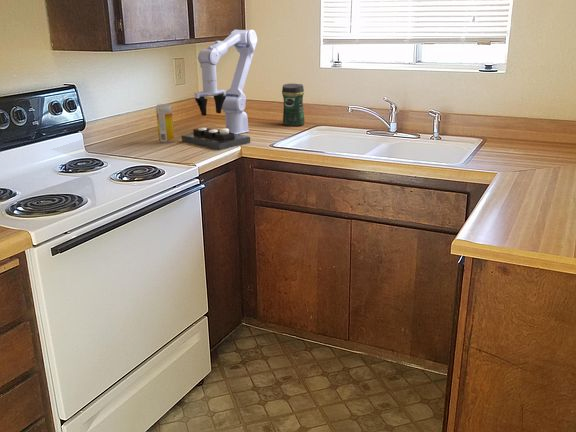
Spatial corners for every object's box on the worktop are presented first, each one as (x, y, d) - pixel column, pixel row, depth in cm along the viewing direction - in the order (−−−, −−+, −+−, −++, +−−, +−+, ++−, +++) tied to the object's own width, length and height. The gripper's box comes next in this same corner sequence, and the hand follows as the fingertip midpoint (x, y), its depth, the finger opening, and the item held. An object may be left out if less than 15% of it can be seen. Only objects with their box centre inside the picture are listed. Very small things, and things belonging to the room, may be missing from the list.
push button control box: (208, 134, 252) (208, 123, 250) (250, 142, 234) (249, 131, 233) (178, 140, 241) (177, 129, 240) (219, 150, 224) (218, 138, 222)
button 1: (203, 131, 242) (203, 127, 242) (208, 133, 240) (208, 128, 239) (196, 133, 240) (196, 128, 239) (201, 134, 237) (201, 129, 237)
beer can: (176, 139, 243) (172, 103, 237) (171, 143, 237) (168, 106, 232) (161, 139, 243) (158, 103, 238) (157, 143, 238) (153, 106, 232)
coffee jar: (306, 123, 269) (306, 83, 263) (299, 127, 262) (298, 85, 256) (288, 122, 273) (287, 82, 267) (280, 125, 267) (279, 84, 260)
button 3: (225, 132, 233) (224, 128, 232) (230, 134, 230) (230, 129, 230) (218, 134, 230) (217, 129, 229) (223, 135, 228) (223, 130, 227)
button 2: (214, 133, 238) (213, 129, 237) (219, 135, 235) (219, 130, 235) (207, 135, 235) (206, 130, 235) (212, 136, 233) (212, 131, 232)
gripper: (217, 78, 241) (218, 111, 246) (188, 81, 232) (191, 115, 236) (228, 79, 237) (229, 112, 241) (199, 82, 227) (201, 117, 231)
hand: (211, 114), depth 238 cm, fingers open, 7 cm apart
